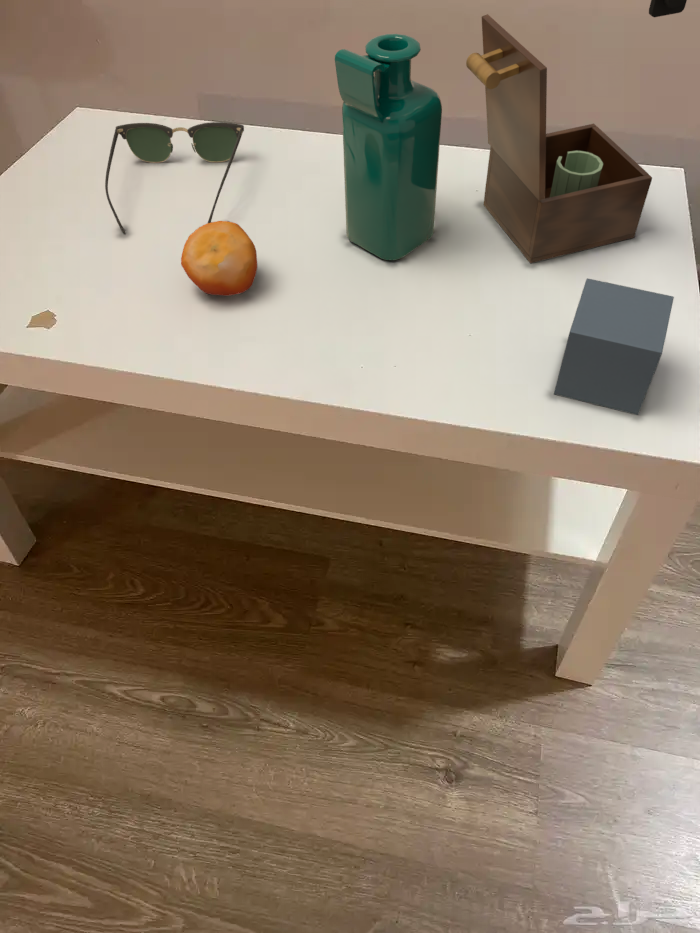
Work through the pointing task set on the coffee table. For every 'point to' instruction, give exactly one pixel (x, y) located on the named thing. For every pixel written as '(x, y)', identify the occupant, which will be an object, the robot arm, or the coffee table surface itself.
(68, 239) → the coffee table surface
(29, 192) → the coffee table surface
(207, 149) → the sunglasses
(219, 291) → the fruit
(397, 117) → the green bottle
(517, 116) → the lid
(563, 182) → the cup
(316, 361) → the coffee table surface
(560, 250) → the chest
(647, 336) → the slate grey cube
